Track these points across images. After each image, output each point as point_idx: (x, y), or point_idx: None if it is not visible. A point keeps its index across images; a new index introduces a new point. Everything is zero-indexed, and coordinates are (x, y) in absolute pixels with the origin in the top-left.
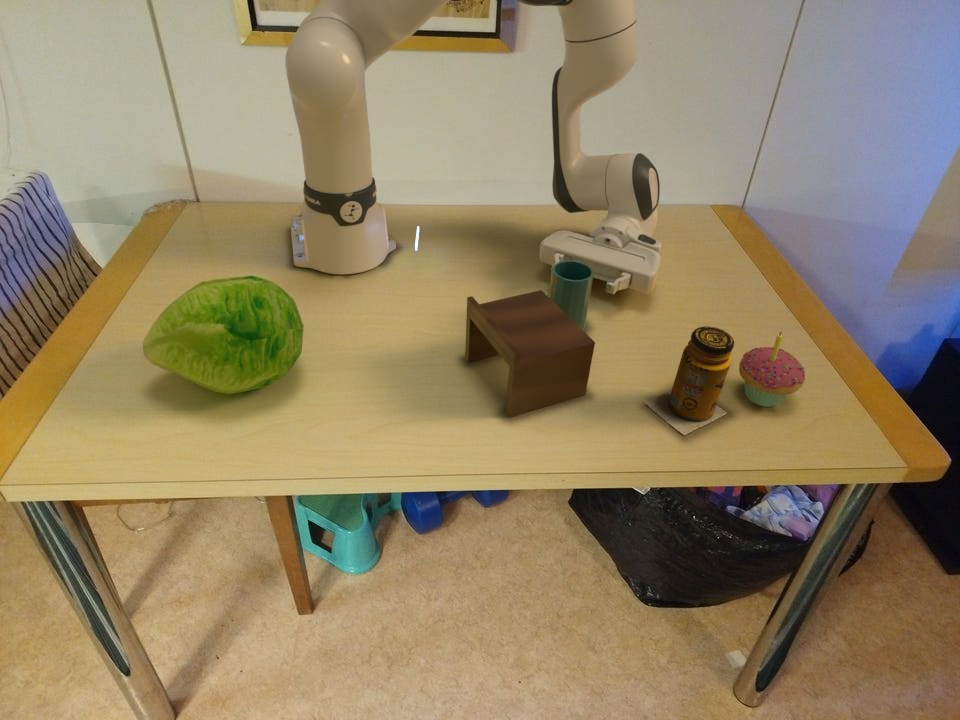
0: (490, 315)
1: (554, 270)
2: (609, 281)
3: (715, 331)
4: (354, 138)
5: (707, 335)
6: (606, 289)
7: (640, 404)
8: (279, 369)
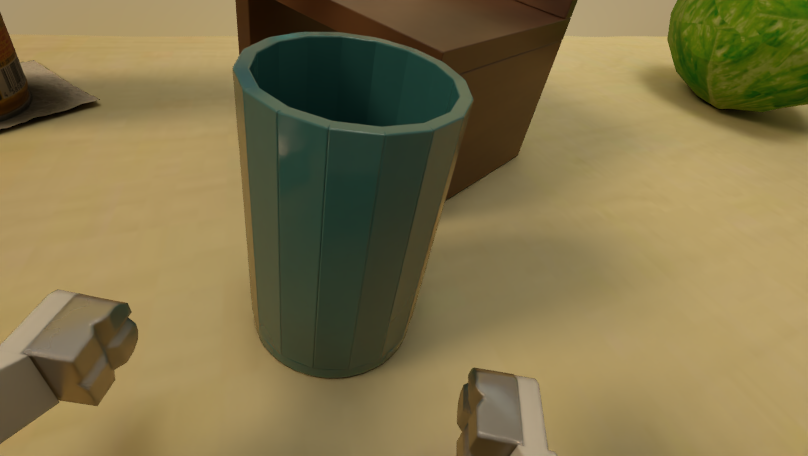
0: (504, 3)
1: (447, 71)
2: (94, 316)
3: None
4: None
5: None
6: (128, 322)
7: (111, 105)
8: (670, 23)
